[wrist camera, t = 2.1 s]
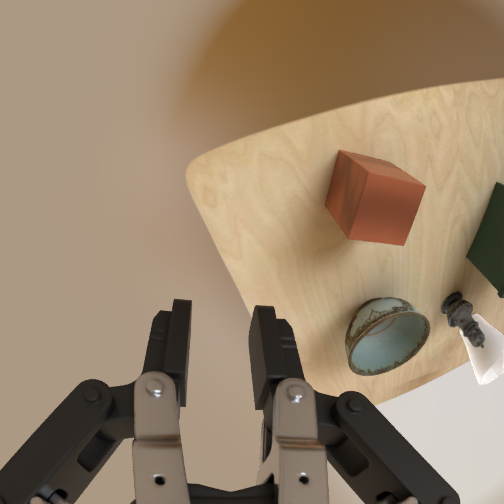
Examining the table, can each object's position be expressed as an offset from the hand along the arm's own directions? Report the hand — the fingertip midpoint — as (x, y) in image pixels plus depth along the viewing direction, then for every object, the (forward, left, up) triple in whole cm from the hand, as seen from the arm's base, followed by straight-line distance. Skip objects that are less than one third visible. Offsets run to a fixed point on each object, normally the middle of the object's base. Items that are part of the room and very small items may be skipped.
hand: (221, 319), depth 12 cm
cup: (+24, +55, -23) cm, 64 cm away
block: (0, +16, -23) cm, 28 cm away
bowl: (+20, +26, -23) cm, 40 cm away
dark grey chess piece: (+18, +44, -23) cm, 53 cm away
